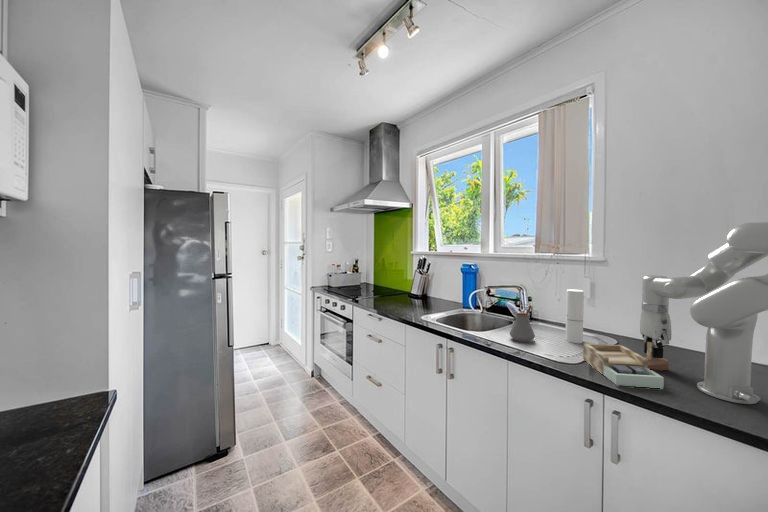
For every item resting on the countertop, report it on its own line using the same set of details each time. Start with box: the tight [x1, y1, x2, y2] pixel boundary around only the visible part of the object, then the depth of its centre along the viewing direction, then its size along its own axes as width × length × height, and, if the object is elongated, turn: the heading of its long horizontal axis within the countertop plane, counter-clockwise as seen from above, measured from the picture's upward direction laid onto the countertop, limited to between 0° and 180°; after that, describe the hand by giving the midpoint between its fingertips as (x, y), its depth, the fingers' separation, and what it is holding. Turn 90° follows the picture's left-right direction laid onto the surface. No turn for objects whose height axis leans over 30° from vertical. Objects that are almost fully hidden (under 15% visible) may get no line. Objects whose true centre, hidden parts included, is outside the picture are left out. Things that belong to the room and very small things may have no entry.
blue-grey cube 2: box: [612, 365, 632, 374], centre depth 104 cm, size 4×4×4 cm
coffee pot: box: [509, 305, 536, 343], centre depth 151 cm, size 21×12×15 cm, turn 139°
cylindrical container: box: [565, 288, 585, 344], centre depth 145 cm, size 7×7×25 cm
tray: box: [603, 366, 665, 390], centre depth 102 cm, size 8×14×4 cm, turn 80°
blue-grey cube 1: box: [629, 366, 650, 375], centre depth 103 cm, size 4×4×4 cm
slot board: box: [582, 342, 648, 375], centre depth 113 cm, size 15×14×7 cm
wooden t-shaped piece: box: [643, 341, 669, 371], centre depth 113 cm, size 2×9×10 cm, turn 79°
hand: (653, 355), depth 113 cm, fingers open, 3 cm apart
